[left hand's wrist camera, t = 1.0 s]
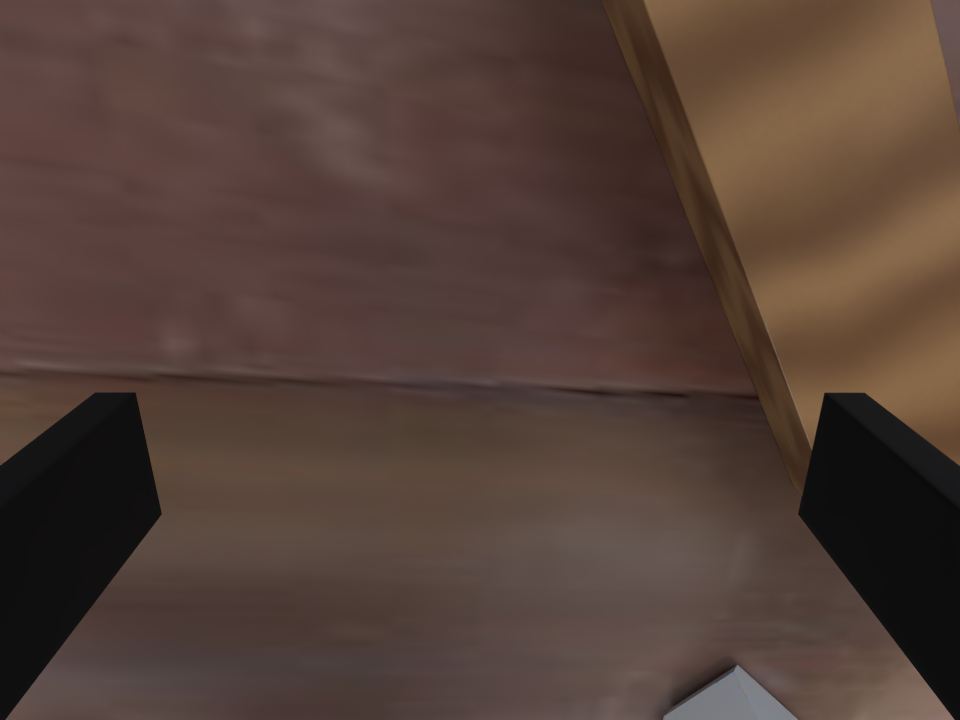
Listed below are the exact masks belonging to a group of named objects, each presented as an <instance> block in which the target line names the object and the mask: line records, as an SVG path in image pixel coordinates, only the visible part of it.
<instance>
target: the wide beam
mask: <svg viewBox="0 0 960 720" xmlns="http://www.w3.org/2000/svg"><path fill="white" fill-rule="evenodd" d="M601 1H602V3H603V6H604V8H605V11H606V13H607V16H608V18H609V21H610V24H611V26H612V29H613V31H614V34H615V36H616V39H617V41H618V44H619V46H620V49H621V51H622V54H623V56H624V59H625V61H626V64H627V66H628V69H629V71H630V74H631V77H632V79H633V82H634V84H635V87H636V89H637V92H638V94H639V97H640V99H641V102H642V104H643V107H644V109H645V112H646V114H647V117H648V119H649V122H650V125H651V127H652V130H653V132H654V135H655V137H656V140H657V142H658V145H659V147H660V150H661V152H662V155H663V157H664V160H665V162H666V165H667V167H668V170H669V173H670V175H671V178H672V180H673V183H674V185H675V188H676V190H677V193H678V195H679V198H680V200H681V203H682V205H683V208H684V210H685V213H686V215H687V218H688V221H689V223H690V226H691V228H692V231H693V233H694V236H695V238H696V241H697V243H698V246H699V248H700V251H701V253H702V256H703V258H704V261H705V263H706V266H707V269H708V271H709V274H710V276H711V279H712V281H713V284H714V286H715V289H716V291H717V294H718V296H719V299H720V301H721V304H722V306H723V309H724V311H725V314H726V317H727V319H728V322H729V324H730V327H731V329H732V332H733V334H734V337H735V339H736V342H737V344H738V347H739V349H740V352H741V354H742V357H743V359H744V362H745V365H746V367H747V370H748V372H749V375H750V377H751V380H752V382H753V385H754V387H755V390H756V392H757V395H758V397H759V400H760V402H761V405H762V407H763V410H764V413H765V415H766V418H767V420H768V423H769V425H770V428H771V430H772V433H773V435H774V438H775V440H776V443H777V445H778V448H779V450H780V453H781V455H782V458H783V461H784V463H785V466H786V468H787V471H788V473H789V476H790V478H791V481H792V483H793V486H794V487H795V488H796V490H797V491H798V492H799V493H800V494H801V496H802V495H803V490H804V485H805V481H806V476H807V471H808V467H809V462H810V458H811V453H812V448H813V444H814V439H815V434H816V430H817V425H818V420H819V416H820V411H821V407H822V402H823V397H824V393H866V394H867V395H868V396H870V397H871V398H872V399H874V400H875V401H876V402H878V403H879V404H880V405H881V406H883V407H884V408H885V409H887V410H888V411H889V412H891V413H892V414H893V415H894V416H896V417H897V418H898V419H900V420H901V421H902V422H903V423H905V424H906V425H907V426H909V427H910V428H911V429H913V430H914V431H915V432H916V433H918V434H919V435H920V436H922V437H923V438H924V439H926V440H927V441H928V442H929V443H931V444H932V445H933V446H935V447H936V448H937V449H939V450H940V451H941V452H942V453H944V454H945V455H946V456H948V457H949V458H950V459H952V460H953V461H954V462H955V463H957V464H958V465H959V466H960V127H959V123H958V118H957V114H956V110H955V105H954V101H953V97H952V92H951V88H950V84H949V79H948V75H947V71H946V67H945V62H944V58H943V54H942V49H941V45H940V41H939V36H938V32H937V28H936V23H935V19H934V15H933V10H932V6H931V2H930V0H601Z"/></svg>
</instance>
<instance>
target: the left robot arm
mask: <svg viewBox="0 0 960 720" xmlns="http://www.w3.org/2000/svg"><path fill="white" fill-rule="evenodd" d="M161 514H162V513H161V508H160V504H159V499H158V495H157V490H156V485H155V481H154V476H153V471H152V467H151V462H150V458H149V453H148V448H147V444H146V439H145V434H144V430H143V425H142V420H141V416H140V411H139V407H138V402H137V397H136V393H94V394H93V395H92V396H90V397H89V398H88V399H86V400H85V401H84V402H82V403H81V404H80V405H79V406H77V407H76V408H75V409H73V410H72V411H71V412H69V413H68V414H67V415H66V416H64V417H63V418H62V419H60V420H59V421H58V422H57V423H55V424H54V425H53V426H51V427H50V428H49V429H47V430H46V431H45V432H44V433H42V434H41V435H40V436H38V437H37V438H36V439H34V440H33V441H32V442H31V443H29V444H28V445H27V446H25V447H24V448H23V449H21V450H20V451H19V452H18V453H16V454H15V455H14V456H12V457H11V458H10V459H8V460H7V461H6V462H5V463H3V464H2V465H1V466H0V720H5V719H6V718H7V717H8V715H9V714H10V713H11V711H12V710H13V709H14V708H15V706H16V705H17V704H18V702H19V701H20V700H21V698H22V697H23V696H24V694H25V693H26V692H27V690H28V689H29V688H30V687H31V685H32V684H33V683H34V681H35V680H36V679H37V677H38V676H39V675H40V673H41V672H42V671H43V669H44V668H45V667H46V666H47V664H48V663H49V662H50V660H51V659H52V658H53V656H54V655H55V654H56V652H57V651H58V650H59V648H60V647H61V646H62V644H63V643H64V642H65V641H66V639H67V638H68V637H69V635H70V634H71V633H72V631H73V630H74V629H75V627H76V626H77V625H78V623H79V622H80V621H81V620H82V618H83V617H84V616H85V614H86V613H87V612H88V610H89V609H90V608H91V606H92V605H93V604H94V602H95V601H96V600H97V599H98V597H99V596H100V595H101V593H102V592H103V591H104V589H105V588H106V587H107V585H108V584H109V583H110V581H111V580H112V579H113V578H114V576H115V575H116V574H117V572H118V571H119V570H120V568H121V567H122V566H123V564H124V563H125V562H126V560H127V559H128V558H129V557H130V555H131V554H132V553H133V551H134V550H135V549H136V547H137V546H138V545H139V543H140V542H141V541H142V539H143V538H144V537H145V535H146V534H147V533H148V532H149V530H150V529H151V528H152V526H153V525H154V524H155V522H156V521H157V520H158V518H159V517H160V516H161ZM798 514H799V516H800V517H801V518H802V520H803V521H804V522H805V524H806V525H807V526H808V528H809V529H810V530H811V532H812V533H813V534H814V535H815V537H816V538H817V539H818V541H819V542H820V543H821V545H822V546H823V547H824V549H825V550H826V551H827V553H828V554H829V555H830V557H831V558H832V559H833V560H834V562H835V563H836V564H837V566H838V567H839V568H840V570H841V571H842V572H843V574H844V575H845V576H846V578H847V579H848V580H849V581H850V583H851V584H852V585H853V587H854V588H855V589H856V591H857V592H858V593H859V595H860V596H861V597H862V599H863V600H864V601H865V602H866V604H867V605H868V606H869V608H870V609H871V610H872V612H873V613H874V614H875V616H876V617H877V618H878V620H879V621H880V622H881V623H882V625H883V626H884V627H885V629H886V630H887V631H888V633H889V634H890V635H891V637H892V638H893V639H894V641H895V642H896V643H897V644H898V646H899V647H900V648H901V650H902V651H903V652H904V654H905V655H906V656H907V658H908V659H909V660H910V662H911V663H912V664H913V666H914V667H915V668H916V669H917V671H918V672H919V673H920V675H921V676H922V677H923V679H924V680H925V681H926V683H927V684H928V685H929V687H930V688H931V689H932V690H933V692H934V693H935V694H936V696H937V697H938V698H939V700H940V701H941V702H942V704H943V705H944V706H945V708H946V709H947V710H948V711H949V713H950V714H951V715H952V717H953V718H954V719H955V720H960V466H959V465H958V464H957V463H955V462H954V461H953V460H952V459H950V458H949V457H948V456H946V455H945V454H944V453H942V452H941V451H940V450H939V449H937V448H936V447H935V446H933V445H932V444H931V443H929V442H928V441H927V440H926V439H924V438H923V437H922V436H920V435H919V434H918V433H916V432H915V431H914V430H913V429H911V428H910V427H909V426H907V425H906V424H905V423H903V422H902V421H901V420H900V419H898V418H897V417H896V416H894V415H893V414H892V413H891V412H889V411H888V410H887V409H885V408H884V407H883V406H881V405H880V404H879V403H878V402H876V401H875V400H874V399H872V398H871V397H870V396H868V395H867V394H866V393H824V397H823V402H822V407H821V411H820V416H819V420H818V425H817V430H816V434H815V439H814V444H813V448H812V453H811V458H810V462H809V467H808V471H807V476H806V481H805V485H804V490H803V495H802V499H801V504H800V508H799V513H798Z"/></svg>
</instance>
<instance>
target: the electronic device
mask: <svg viewBox="0 0 960 720" xmlns="http://www.w3.org/2000/svg"><path fill="white" fill-rule="evenodd" d="M663 720H798V719H797V718H796V717H795V716H793V715H792V714H791V713H790V712H789V711H788V710H787V709H786V708H785V707H784V706H782V705H781V704H780V703H779V702H778V701H777V700H776V699H775V698H774V697H773V696H771V695H770V694H769V693H768V692H767V691H766V690H765V689H764V688H763V687H761V686H760V685H759V684H758V683H757V682H756V681H755V680H754V679H753V678H752V677H750V676H749V675H748V674H747V673H746V672H745V671H744V670H743V669H742V668H741V667H739V666H738V665H736V666H735V667H733V668H732V669H730V670H729V671H727V672H726V673H724V674H723V675H721V676H719V677H718V678H716V679H715V680H713V681H712V682H710V683H709V684H707V685H706V686H704V687H703V688H701V689H700V690H698V691H697V692H695V693H693V694H692V695H690V696H689V697H687V698H686V699H684V700H683V701H681V702H680V703H678V704H677V705H675V706H674V707H672V708H670V709H669V710H668V712H667V713H666V714H665V716H664V718H663Z"/></svg>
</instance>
